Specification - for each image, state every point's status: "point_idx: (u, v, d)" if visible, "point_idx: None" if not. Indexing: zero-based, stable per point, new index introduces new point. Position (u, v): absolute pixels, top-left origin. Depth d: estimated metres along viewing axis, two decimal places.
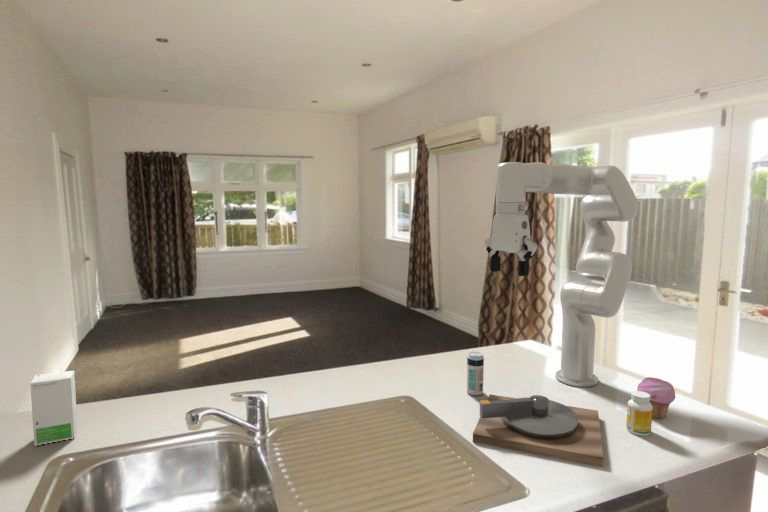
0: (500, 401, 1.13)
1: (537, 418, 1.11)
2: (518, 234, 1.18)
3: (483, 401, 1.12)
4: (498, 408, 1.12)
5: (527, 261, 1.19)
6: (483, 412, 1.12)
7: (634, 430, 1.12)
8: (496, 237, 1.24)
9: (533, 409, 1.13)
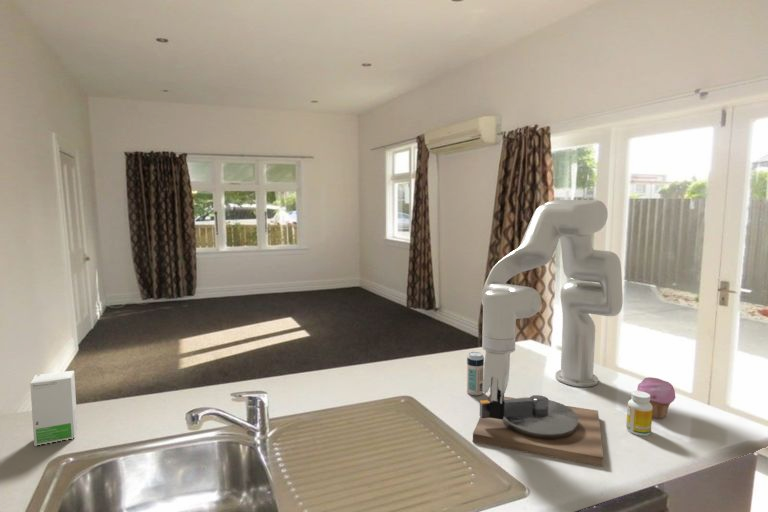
0: None
1: (537, 418, 1.12)
2: None
3: (483, 401, 1.13)
4: None
5: None
6: (483, 412, 1.12)
7: (634, 430, 1.12)
8: (506, 377, 1.06)
9: (533, 409, 1.13)
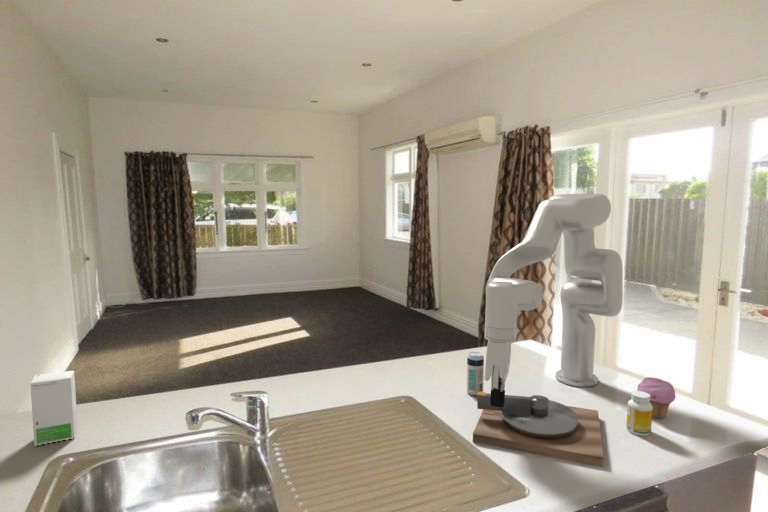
0: None
1: (532, 417, 1.12)
2: None
3: (480, 393, 1.17)
4: None
5: None
6: (478, 403, 1.17)
7: (634, 430, 1.12)
8: (507, 366, 1.10)
9: (531, 408, 1.14)
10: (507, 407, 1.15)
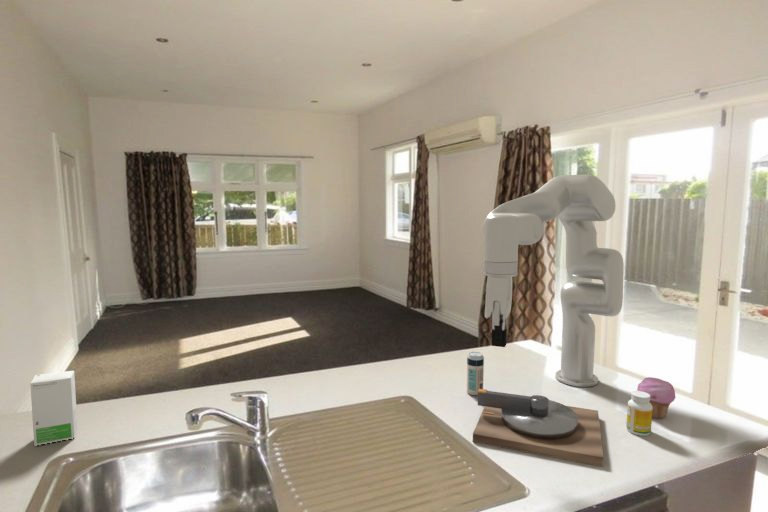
0: (497, 393, 1.18)
1: (531, 416, 1.12)
2: None
3: (481, 390, 1.19)
4: (494, 399, 1.17)
5: None
6: (479, 399, 1.19)
7: (634, 430, 1.12)
8: (508, 302, 1.04)
9: (530, 407, 1.14)
10: (507, 405, 1.16)
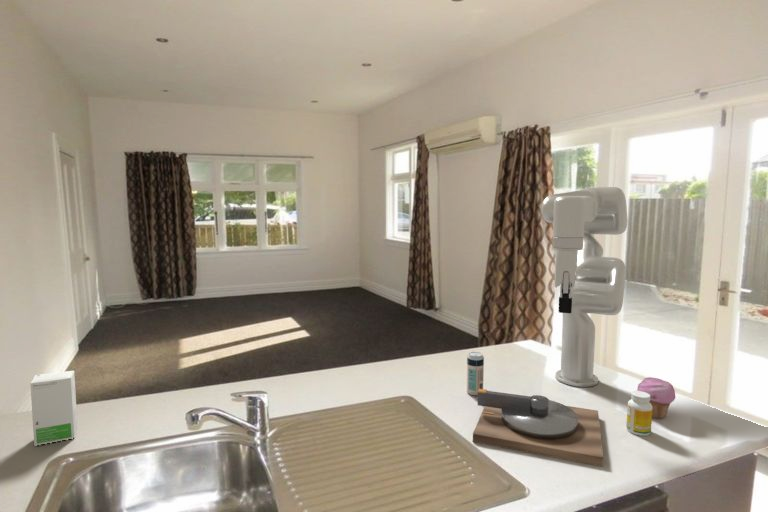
0: (497, 393, 1.18)
1: (531, 416, 1.12)
2: None
3: (481, 390, 1.19)
4: (494, 399, 1.17)
5: None
6: (479, 399, 1.19)
7: (634, 430, 1.12)
8: (576, 273, 1.18)
9: (530, 407, 1.14)
10: (507, 405, 1.16)
